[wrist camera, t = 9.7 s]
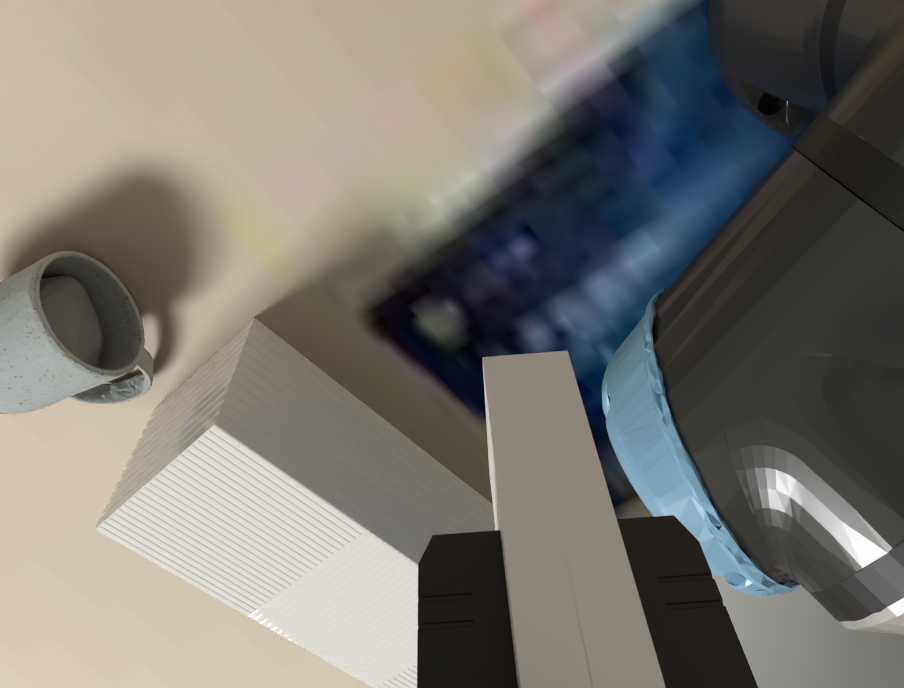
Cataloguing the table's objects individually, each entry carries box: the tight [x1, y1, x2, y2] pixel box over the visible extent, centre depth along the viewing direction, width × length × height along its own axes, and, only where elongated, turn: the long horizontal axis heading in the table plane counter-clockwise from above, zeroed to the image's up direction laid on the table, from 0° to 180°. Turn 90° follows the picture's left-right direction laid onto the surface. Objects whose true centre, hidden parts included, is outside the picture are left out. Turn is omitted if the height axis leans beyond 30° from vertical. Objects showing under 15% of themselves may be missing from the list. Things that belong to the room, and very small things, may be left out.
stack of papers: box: [95, 317, 495, 688], centre depth 51 cm, size 32×11×11 cm, turn 43°
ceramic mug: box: [0, 251, 154, 414], centre depth 43 cm, size 11×8×8 cm
